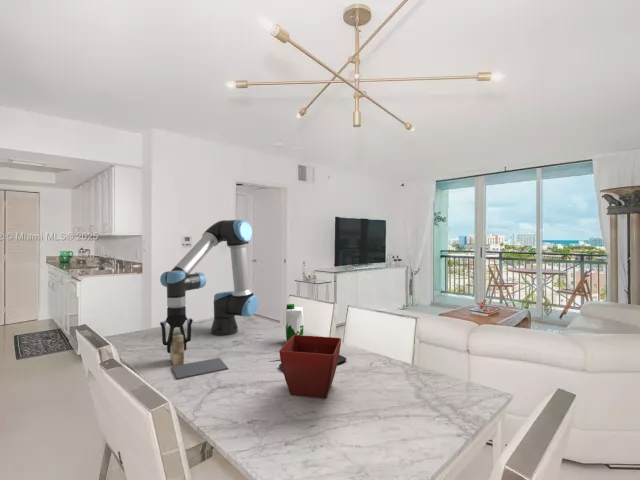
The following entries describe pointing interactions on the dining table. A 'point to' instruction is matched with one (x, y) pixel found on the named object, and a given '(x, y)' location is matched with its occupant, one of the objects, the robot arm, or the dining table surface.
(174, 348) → the oak slab
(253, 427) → the dining table surface
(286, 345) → the plant pot
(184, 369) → the rubber mat
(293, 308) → the milk carton
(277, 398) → the dining table surface
